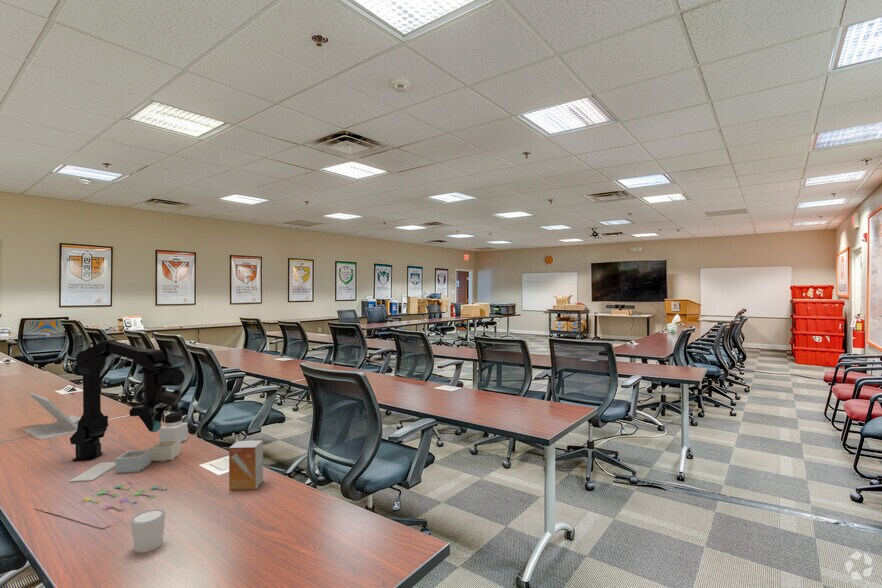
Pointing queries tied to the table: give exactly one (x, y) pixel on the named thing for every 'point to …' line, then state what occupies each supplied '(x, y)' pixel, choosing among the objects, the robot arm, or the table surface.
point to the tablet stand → (54, 429)
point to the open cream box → (165, 450)
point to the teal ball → (156, 426)
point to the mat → (94, 472)
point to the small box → (245, 465)
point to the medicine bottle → (173, 428)
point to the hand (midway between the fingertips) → (154, 429)
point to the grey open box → (133, 461)
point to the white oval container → (148, 530)
